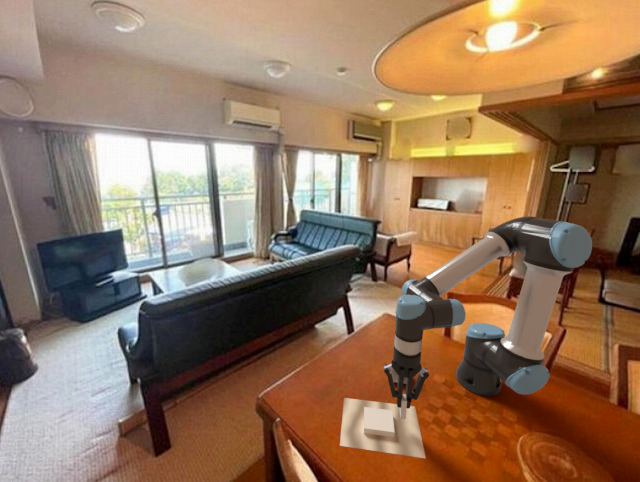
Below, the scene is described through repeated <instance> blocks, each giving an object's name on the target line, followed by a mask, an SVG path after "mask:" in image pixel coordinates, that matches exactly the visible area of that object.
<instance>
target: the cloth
mask: <svg viewBox="0 0 640 482" xmlns="http://www.w3.org/2000/svg"><path fill="white" fill-rule="evenodd" d="M342 407H343V408H342V419H341V426H340V427H341V429H340V439H339V440H340V441H339V446H340V447H346V448H352V449H358V450H367V451H372V452H373V451H374V452H380V453H387V454H392V455H399V456H406V457H412V458H413V457H414V458H421V459H424V460H425V459H427V456H426V451H425V447H424V444H423V439H422V434H421V429H420V424H419V420H418V415H417V409H416V406H414V405H410V408H409V409H408V408H406V419H401V418H400V408H399V407H397V403H390V402H380V401H375V400H374V401H372V400H366V399H365V400H364V399H356V398H348V397H344V398H343V406H342ZM364 407H369V408H377V409H385V410H392V414H393V422H394V431H395V434H394V438H392V437H385V436H378V435H371V434H364Z"/></svg>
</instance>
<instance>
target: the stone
mask: <svg viewBox="0 0 640 482" xmlns="http://www.w3.org/2000/svg"><path fill="white" fill-rule="evenodd" d="M392 377H393V382H394V383H397V384H398V374H397V373H396V372H395V370H394V369H392ZM404 384H405V385H407V377H404V381H403V385H404Z"/></svg>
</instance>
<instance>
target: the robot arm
mask: <svg viewBox="0 0 640 482" xmlns="http://www.w3.org/2000/svg"><path fill="white" fill-rule="evenodd" d="M592 250H593V240H592V237H591V235H590V233H589V231H588V230H587V229H586V228H585V227H583V226H582V225H579V224H575V223H572V222H571V223H570V222H567V221H562V220H555V219H547V218H543V217H537V216H531V215H530V216H520V217H516V218H513V219H511V220H508V221H506V222H503V223H501V224H498V225H497V226H495V227H494V228H491V229H490V230H488V231H487V232H485V234H484V238H482V239H480V240H478V242H476V243H474V244H473V245H472V246H469V247H468V248H467V249H465V250H464V251H462V252H461V253H459V254H458V255H456V256H455V257H453V258H451V259H450V260H448V261H447V262H446V263H444V264H442V265H441V266H440V267H438V268H436V269H434V271H431V272H430V273H428V274H426V276H424V277H422V278H421V279H419V280H417V279H409V280H406V281H405V282H404V283H403V285H402V286H401V294H402V295H401V296H399V297H398V298H397V303H396V308H395V324H394V325H395V326H394V327H395V328H394V329H395V331H394V341H393V342H394V343H393V345H394V347H393V359H392V360H391V362H390V364H387V363H384V364H383V372H384V374H385V375H386V377H387V381H388V385H389V388H390V393H391V396H392V398H396V404H397V407H399V408H400V418H401V419H406V408H408V409H409V408H410V406H411V403H412V400H418V399H419V396H420V393H421V391H422V389H423V386H424V384H425V381H426V380H427V379H428V378H429V377H430V373H429V370H428V368H427V367H423V366H422V364H421V357H422V349H423V348H422V345H423V338H424V337H423V336H424V331H426V330H427V331H428V330H434V329H443V328H445V329H446V328H452V327H457V326H461V325H463V323H465V320H466V309H465V306H464V304H463V303H462V302H461V301H460V300H458V299H457V298H456V299H455V298H447V299H444V298H443V297H442V295H443V294H445V293H447V292H448V291H449V290H451V289H453V288H454V287H455V286H457V285H458V284H460V283H462V282H463V281H464V280H466V279H467V278H469V277H471V276H473V275H474V274H475V273H476V272H478V271H480V270H482V269H483V268H484V267H486V266H488V265H489V264H491V263H492V262H494V261H495V260H496V259H498V258H500V257H507V256H509V255H510V254H512V253H516V252H517V253H518V252H520V253H523V254H524V256H523V261H522V262H523V263H524V264H525V265H526V272H525V275H524V279H523V283H522V285H521V290H520V292H519V296H518V300H517V303H516V307H515V310H514V312H513V316H512V320H511V324H510V328H509V330H508V334H507V336H506V333H505V330H504V329H502V328H501V327H499V326H497V325H495V324H490V323H485V322H475V323H472V324H470V325H468V327H467V330H466V333H465V343H464V350H463V357H462V360H461V361H460V362H459V365H457V367H456V371H455V377H456V380H457V382H458V383H459V384H460V385H461V386H462V387H463V388H465V389H467V391H469V392H471V393H473V394H476V395H479V396H485V397H492V396H498V394H500V392H501V390H502V382H503V383H504V384H505V385H506V387H508V388H510V389H511V390H512V391H514V392H515V393H517V394H519V395H526V396H527V395H531V394H534V393H536V392H538V391H539V390H541V389H543V388H544V386H545V385H546V384H547V383H548V381H549V378H550V371H549V369H548V368H547V366H545V365H543V362H544V359H545V353H544V351H543V350H542V349H541V347H542V344H543V342H544V338H545V334H546V331H547V328H548V325H549V323H550V319H551V316H552V313H553V310H554V306H555V304H556V301H557V297H558V294H559V290H560V288H561V285H562V282H563V279H564V277H565V276H566V275H569V274H571V273H573V270H574V269H575V268H579V267H581V266H583V265H584V264H585V263H586V261H588V259H589V258H590V256H591V254H592ZM392 369H394V370H395V372H396V373H397V374H398V383H397V390H396V386H395V382H393V377H392ZM416 375H418V376H417V378H416V381H415V383H414V386H413V382H414V377H415V376H416ZM404 377H407V384H405V385H406V387H405V394H404V392H403V389H404V383H403V381H404Z"/></svg>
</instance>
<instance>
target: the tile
mask: <svg viewBox="0 0 640 482" xmlns="http://www.w3.org/2000/svg"><path fill="white" fill-rule="evenodd" d="M364 434H371V435H378V436H385V437H392V438H394V434H395V431H394V422H393V414H392V410H385V409H377V408H369V407H364Z"/></svg>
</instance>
